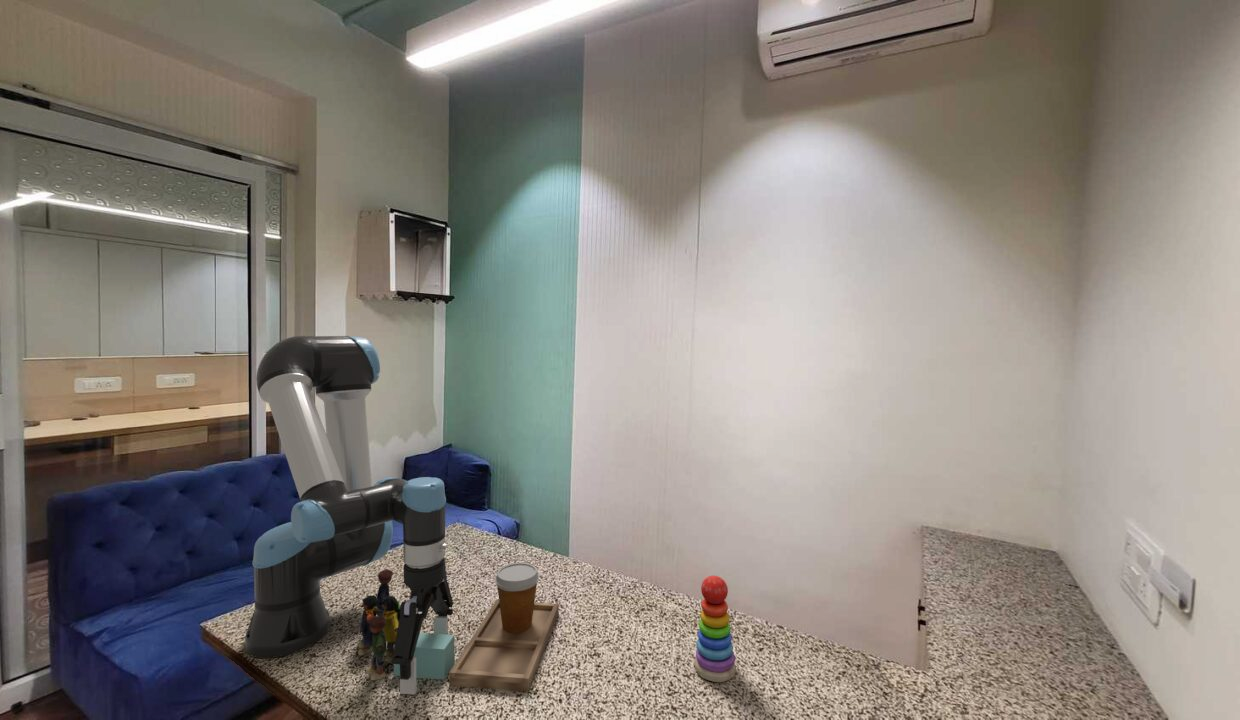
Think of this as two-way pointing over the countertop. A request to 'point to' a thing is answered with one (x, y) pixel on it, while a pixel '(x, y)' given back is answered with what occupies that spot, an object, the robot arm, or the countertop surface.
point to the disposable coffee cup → (517, 595)
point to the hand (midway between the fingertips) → (425, 668)
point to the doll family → (379, 626)
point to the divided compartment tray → (504, 652)
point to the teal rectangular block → (433, 656)
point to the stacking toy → (714, 634)
